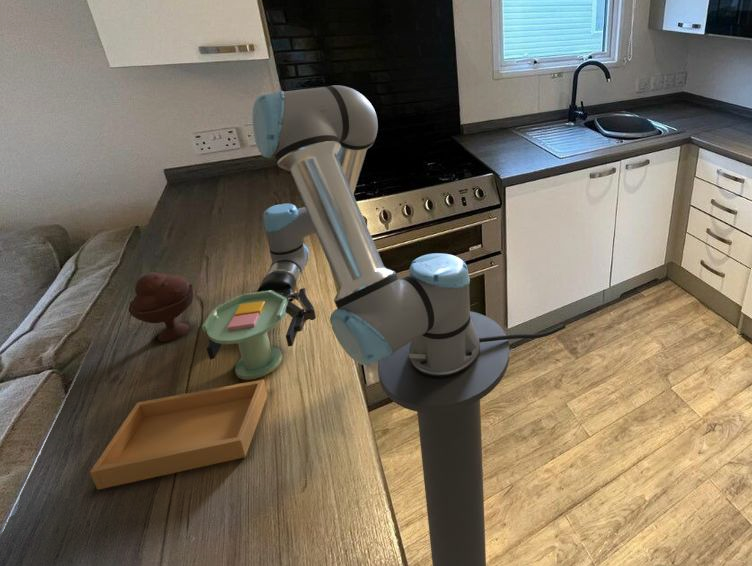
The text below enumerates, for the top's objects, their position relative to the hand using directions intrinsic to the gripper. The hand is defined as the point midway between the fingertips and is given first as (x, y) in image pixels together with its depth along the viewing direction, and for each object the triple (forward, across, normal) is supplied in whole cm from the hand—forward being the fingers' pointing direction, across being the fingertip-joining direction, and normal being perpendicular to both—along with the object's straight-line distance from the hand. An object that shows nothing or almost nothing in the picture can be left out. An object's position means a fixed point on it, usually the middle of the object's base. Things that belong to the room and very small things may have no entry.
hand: (250, 347), depth 85 cm
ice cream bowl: (-17, +21, -6) cm, 28 cm away
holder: (+13, +6, -6) cm, 16 cm away
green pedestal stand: (-2, 0, -6) cm, 6 cm away
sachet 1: (-4, 0, +6) cm, 7 cm away
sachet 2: (0, 0, +6) cm, 6 cm away
